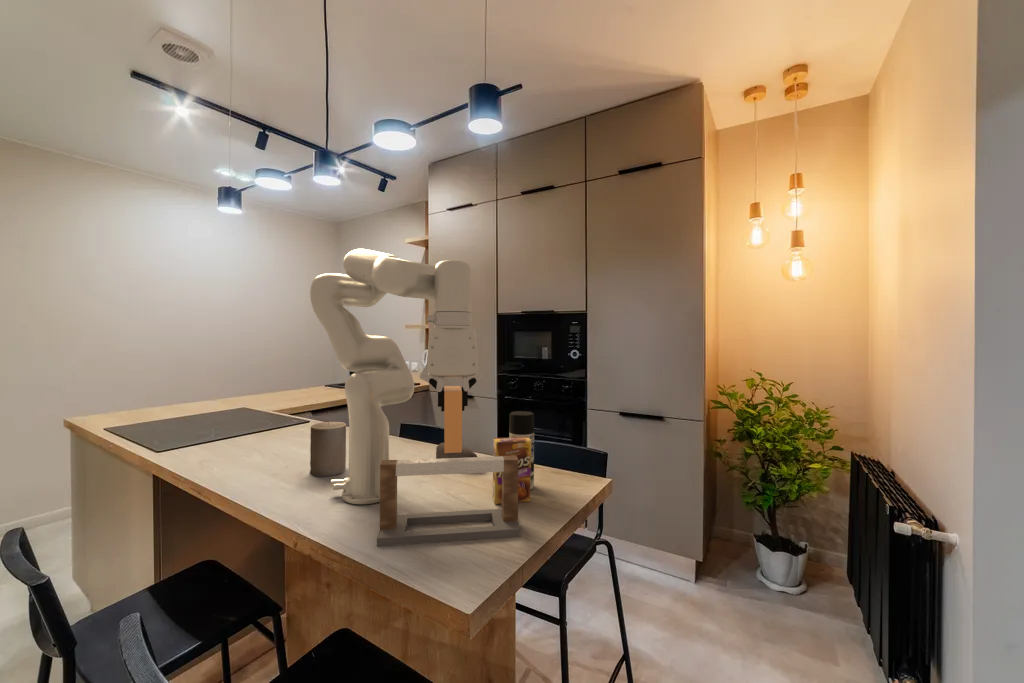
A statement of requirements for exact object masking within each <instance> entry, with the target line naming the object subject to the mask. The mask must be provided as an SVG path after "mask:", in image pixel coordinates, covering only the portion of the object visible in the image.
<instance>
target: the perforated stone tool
mask: <svg viewBox="0 0 1024 683" xmlns="http://www.w3.org/2000/svg"><path fill="white" fill-rule="evenodd" d="M435 450H436V451H435V459H442V458H469V457H478V455H477V454H476V453H475V452H474V451H473V450H471V449H470V448H467V447H465V446H462V452H458V453H444V442H441V443H439V444H438V445H437V446H436V449H435Z"/></svg>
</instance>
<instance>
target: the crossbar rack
mask: <svg viewBox="0 0 1024 683" xmlns="http://www.w3.org/2000/svg"><path fill="white" fill-rule="evenodd" d="M493 472H502V503H501V508H491V509H473V510H471V509H470V510H458V511H457V510H456V511H438V512H423V513H422V512H421V513H419V512H418V513H405V514H398V477H410V476H413V477H414V476H430V475H432V476H435V475H455V474H477V473H478V474H479V473H480V474H481V473H483V474H484V473H493ZM518 516H519V502H518V458H517V456H516V455H515V456H497V457H493V456H477V457H469V458H442V459H436V458H420V459H419V458H418V459H417V458H416V459H389V460H382V462H381V464H380V502H379V531H378V533H377V537H376V547H384V546H385V547H386V546H397V545H398V546H400V545H412V544H425V543H426V544H427V543H428V544H429V543H440V542H443V543H444V542H455V541H458V542H459V541H471V540H472V541H473V540H484V539H501V538H502V539H503V538H516V537H521V535H522V534H521V533H522V531H521V530H522V528H521V526H520V522H519V520H518ZM479 521H480V522H481V521H491V524H492V525H487V526H486V525H485V526H472V527H471V526H469V527H456V528H455V527H454V528H440V529H439V528H438V529H425V530H412V531H411V530H410V531H407V529H408V526H414V525H417V526H418V525H430V524H445V523H446V524H447V523H450V524H451V523H463V522H464V523H465V522H479Z"/></svg>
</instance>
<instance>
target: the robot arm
mask: <svg viewBox="0 0 1024 683" xmlns="http://www.w3.org/2000/svg"><path fill="white" fill-rule="evenodd" d="M342 267H343V269H344V270H343V271H344V272H345V273H346V274H343V273H336V272H335V273H334V272H333V273H332V272H331V273H323V274H322V273H321V274H319V275H317V276H316V277H315V278H314V279H313V280H312V282H311V285H310V292H309V294H310V295H309V297H310V303H311V307H312V310H313V312H314V314H315V315H316V318H317V319H318V321H319V322H320V324H321V325H322V326H323V328H324V329H325V331H326V334H327V335H328V338H329V341H330V343H331V347H332V349H333V352H334V353H335V356H336V357H337V360H338V362H339V364H340V366H341V368H343V370H346V371H348V372H353V373H351V374H350V375H349V376H348V377H347V378H346V380H345V383H344V393H345V398H346V404H347V412H348V477H345V478H344V479H343V478H341V479H340V478H332V479H331V480H330V488H333V490H334V491H335V490H337V491H338V490H343V491H342V493H341V499H342V500H343V501H344V502H345V503H348V504H352V505H369V504H376V503H380V464H381V462H382V460H390V423H389V420H388V417H387V415H386V414H385V413H384V411H383V409H382V407H384V406H388V405H396V404H401V403H405V402H407V401H409V400H410V399H411V398H412V396H413V395H414V392H415V382H414V381H415V380H414V377H413V375H412V373H411V371H410V368H409V366H408V364H407V361H406V359H405V358H404V356H403V354H402V352H401V350H400V347H399V346H398V344H397V343H396V342H395V340H393V339H392V338H390V337H389V336H384V335H369V334H367V333H365V332H364V329H363V328H362V326H361V323H360V322H359V320H358V318H357V317H356V316H355V315H354V314H353V313H351V312H350V311H349V310H348V309H347V308H345V307H355V308H356V307H357V308H358V307H359V308H370V307H371V308H372V307H373V306H375V305H376V304H378V303H379V302H380V301H381V300H382V299H383V298H384V296H386V295H387V294H391V295H394V296H398V297H402V298H411V299H412V298H413V299H423V300H429V301H430V300H431V301H434V314H433V313H432V314H431V315H427V316H426V317H427V323H431V324H433V325H434V326H433V327H430V331H429V334H428V335H429V336H428V344H427V347H428V349H427V362H426V364H425V366H424V367H423V369H422V371H421V373H420V375H419V379H420V380H423V381H424V382H427V383H428V384H430V386H432V387H433V388H434V389H435V390H436V391H437V407H439V408H440V409H441V410H440V411H441V412H444V389H445V387H443V386H444V379H445V378H460V377H461V383H462V387H461V390H462V412H464V411H465V407H469V402H468V401H469V399H468V398H469V396H468V395H469V394H468V392H469V390H470V389H471V388H472V387H473V386H475V384H477V383H478V382H480V381H481V380H483V379H484V378H486V374H485V372H484V370H483V369H482V367H481V365H480V363H479V360H478V358H479V357H478V356H479V355H478V354H479V351H478V342H477V341H478V340H477V334H476V333H477V332H476V328H473V327H472V268H471V266H470V264H469V263H467V262H466V261H462V260H453V259H452V260H450V259H449V260H448V259H447V260H441V261H439V262H437V263H436V264H435V265H433V264H430V263H429V264H428V263H423V262H418V261H412V260H406V259H401V258H400V257H398V256H396V255H394V254H392V253H391V254H390V253H385V252H382V251H381V252H380V251H376V250H373V249H372V250H371V249H365V248H356V249H353V250H351V251H349V252H348V253H347V254H345V256H344V258H343V263H342ZM434 377H435V378H434ZM469 377H470V378H469ZM436 378H437V380H436Z"/></svg>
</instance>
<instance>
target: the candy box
mask: <svg viewBox="0 0 1024 683" xmlns="http://www.w3.org/2000/svg"><path fill="white" fill-rule="evenodd" d="M492 454H493V455H492V457H497V456H515V455H516V456H517V458H518V503H525V502H526V503H527V502H528V503H529V502H531V490H530V479H531V440H530V439H529V438H528V437H514V438H509V437H494V438H493V453H492ZM491 493H492V500H493V502H494V505H499V504H502V472H492V492H491Z"/></svg>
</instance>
